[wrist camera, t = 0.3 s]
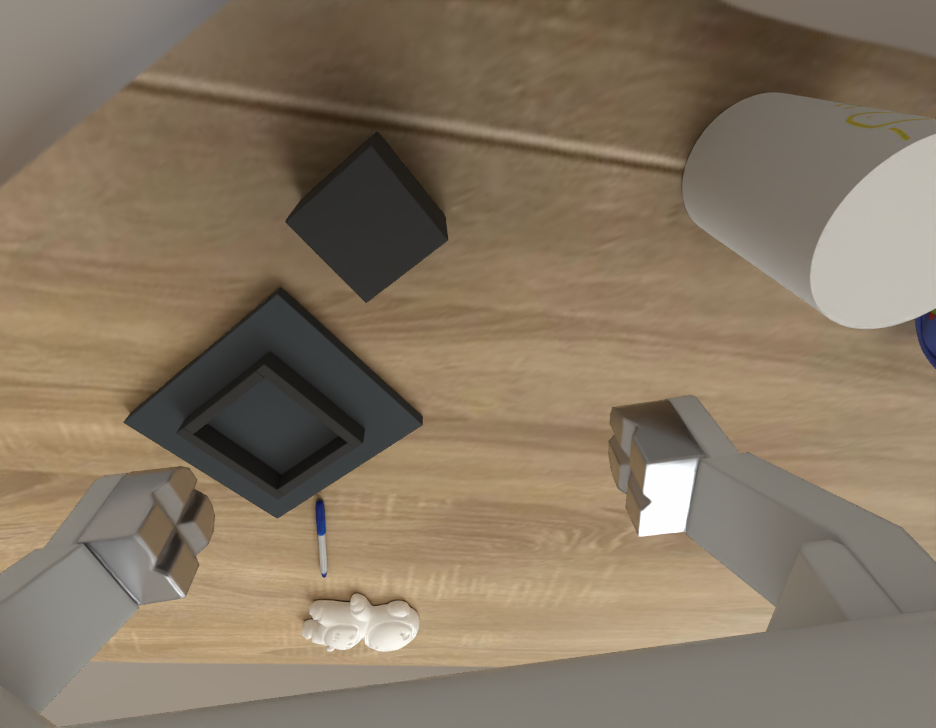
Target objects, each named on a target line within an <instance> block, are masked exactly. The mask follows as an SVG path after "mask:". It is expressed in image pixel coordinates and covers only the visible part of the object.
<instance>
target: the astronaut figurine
mask: <svg viewBox="0 0 936 728" xmlns="http://www.w3.org/2000/svg"><path fill="white" fill-rule="evenodd" d="M309 614H310V615H312V618H313V619H311V620H307V621H305V622H304V623H303V626H302V629H301V633H302V635H303V636H304V637H305V638H306V639H309V638H311V637H312V638H311V641H312V643H316V644H323V645H327V651H329V652H331V651H333V650H334V649H335V648H336V649H340V650H346V649H349V648H351V647H353V646H354V645H355V644H357V643H358V642H359V641H360V640H361V639H363V640H364V642H365V644H366V645H367V646H368V647H370V648H373V649H375V650H377V651H393V650H397V649H400V648H402V647H404V646H405V645H406V644H408V643H409V642H410V641H412V640H413V638H414V637H415V636H416V634H417V632H418V629H419V616H418V614H417V612H416V611H415V610H414V609H412V608H411V607H409V605H408V603H406V602H404V601H392V602H390V603H389V604H384V605H379V606H372V605H371V604H370V603H369V601H368V600H367V598H366V597H364V596H363V595H361V594H358V593H356V594H353V595H352V597H351V600H350V602H340V601H334V600H317V601H314V602H313V603H312V604H311V606H310V607H309Z"/></svg>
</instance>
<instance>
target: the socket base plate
mask: <svg viewBox="0 0 936 728" xmlns="http://www.w3.org/2000/svg"><path fill="white" fill-rule="evenodd" d="M124 423H125V424H127V425H128V426H130V427H131V428H133V429H135V430H136V431H138V432H139V433H141V434H143V435H144V436H146V437H147V438H149V439H151V440H152V441H154V442H155V443H157V444H159V445H160V446H162V447H163V448H165V449H167V450H168V451H170V452H171V453H173V454H175V455H176V456H178V457H179V458H181V459H183V460H184V461H186V462H187V463H189V464H191V465H192V466H194V467H195V468H197V469H199V470H200V471H202V472H203V473H205V474H207V475H208V476H210V477H211V478H213V479H215V480H216V481H218V482H219V483H221V484H223V485H224V486H226V487H228V488H229V489H231V490H232V491H234V492H236V493H237V494H239V495H240V496H242V497H244V498H245V499H247V500H248V501H250V502H252V503H253V504H255V505H256V506H258V507H260V508H261V509H263V510H264V511H266V512H268V513H269V514H271V515H272V516H274V517H276V518H279V517H281V516H282V515H284V514H285V513H287V512H288V511H290V510H292V509H293V508H295V507H296V506H298V505H299V504H301V503H302V502H304V501H306V500H307V499H309V498H310V497H312V496H313V495H315V494H316V493H318V492H319V491H321V490H323V489H324V488H326V487H327V486H329V485H330V484H332V483H333V482H335V481H337V480H338V479H340V478H341V477H343V476H344V475H346V474H347V473H349V472H350V471H352V470H354V469H355V468H357V467H358V466H360V465H361V464H363V463H364V462H366V461H368V460H369V459H371V458H372V457H374V456H375V455H377V454H378V453H380V452H382V451H383V450H385V449H386V448H388V447H389V446H391V445H392V444H394V443H395V442H397V441H399V440H400V439H402V438H403V437H405V436H406V435H408V434H409V433H411V432H413V431H414V430H416V429H417V428H419V427H420V426H422V425H423V417H422V416H421V415H420V414H419V413H418V412H417V411H416V410H415V409H414V408H412V407H411V406H410V405H409V404H408V403H407V402H406V401H405V400H404V399H403V398H402V397H400V396H399V395H398V394H397V393H396V392H395V391H394V390H393V389H392V388H391V387H389V386H388V385H387V384H386V383H385V382H384V381H383V380H382V379H381V378H380V377H379V376H377V375H376V374H375V373H374V372H373V371H372V370H371V369H370V368H369V367H368V366H367V365H365V364H364V363H363V362H362V361H361V360H360V359H359V358H358V357H357V356H356V355H354V354H353V353H352V352H351V351H350V350H349V349H348V348H347V347H346V346H345V345H344V344H342V343H341V342H340V341H339V340H338V339H337V338H336V337H335V336H334V335H333V334H332V333H330V332H329V331H328V330H327V329H326V328H325V327H324V326H323V325H322V324H321V323H320V322H318V321H317V320H316V319H315V318H314V317H313V316H312V315H311V314H310V313H309V312H307V311H306V310H305V309H304V308H303V307H302V306H301V305H300V304H299V303H298V302H297V301H295V300H294V299H293V298H292V297H291V296H290V295H289V294H288V293H287V292H286V291H285V290H283V289H282V288H280V289H279V290H277V291H276V292H275V293H274V294H273V295H271V296H270V297H269V298H268V299H267V300H265V301H264V302H263V303H262V304H261V305H259V306H258V307H257V308H256V309H255V310H253V311H252V312H251V313H250V314H249V315H247V316H246V317H245V318H244V319H243V320H242V321H240V322H239V323H238V324H237V325H236V326H234V327H233V328H232V329H231V330H230V331H228V332H227V333H226V334H225V335H224V336H222V337H221V338H220V339H219V340H218V341H216V342H215V343H214V344H213V345H212V346H210V347H209V348H208V349H207V350H206V351H204V352H203V353H202V354H201V355H200V356H198V357H197V358H196V359H195V360H194V361H193V362H191V363H190V364H189V365H188V366H187V367H185V368H184V369H183V370H182V371H181V372H179V373H178V374H177V375H176V376H175V377H173V378H172V379H171V380H170V381H169V382H167V383H166V384H165V385H164V386H163V387H161V388H160V389H159V390H158V391H157V392H155V393H154V394H153V395H152V396H151V397H149V398H148V399H147V400H146V401H145V402H144V403H142V404H141V405H140V406H139V407H138V408H136V409H135V410H134V411H133V412H132V413H130V414H129V416H128V417H127V418H126V420H125V421H124Z"/></svg>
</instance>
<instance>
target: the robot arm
mask: <svg viewBox="0 0 936 728" xmlns="http://www.w3.org/2000/svg"><path fill="white" fill-rule="evenodd" d="M610 425H611V427H612V430H613V432H614V435H613V437H612V438H611V439H610V440H609V452H608V454H609V462H610V468H611V472H612V475H613V478H614V481H615V483H616V486H617V488H618V489H619V490H621V491H622V492H624V493H625V494H627V496H626V509H627V511H628V514H629V516H630V518H631V521H632V523H633V525H634V527H635V530H636V532H637V534H638V536H647V535H657V534H666V533H675V532H684V531H686V532H685V534H686V535H688V536H689V537H690V538H691V539H692V540H694V541H695V542H696V543H697V544H699V545H700V546H701V547H702V548H704V549H705V550H706V551H707V552H709V553H710V554H711V555H712V556H713V557H715V558H716V559H717V560H718V561H720V562H721V563H722V564H723V565H725V566H726V567H727V568H728V569H730V570H731V571H732V572H733V573H734V574H736V575H737V576H738V577H739V578H741V579H742V580H743V581H744V582H746V583H747V584H748V585H749V586H750V587H752V588H753V589H754V590H755V591H757V592H758V593H759V594H760V595H762V596H763V597H764V598H765V599H767V600H768V601H769V602H770V603H771V604H773V605H774V606H775V607H776V608H775V610H774V613H773V615H772V618H771V620H770V623H769V625H768V628H767V630H766V632H761V633H753V634H746V635H738V636H731V637H724V638H716V639H709V640H701V641H694V642H686V643H679V644H672V645H664V646H657V647H649V648H642V649H634V650H627V651H619V652H612V653H605V654H597V655H590V656H582V657H575V658H567V659H560V660H552V661H545V662H538V663H530V664H523V665H515V666H508V667H500V668H493V669H485V670H478V671H471V672H463V673H456V674H448V675H441V676H433V677H426V678H418V679H411V680H404V681H396V682H389V683H382V684H374V685H367V686H359V687H352V688H345V689H338V690H330V691H323V692H315V693H308V694H300V695H293V696H286V697H278V698H271V699H263V700H257V701H249V702H242V703H234V704H227V705H219V706H212V707H204V708H197V709H189V710H182V711H175V712H167V713H160V714H152V715H144V716H137V717H130V718H122V719H115V720H108V721H100V722H93V723H85V724H78V725H71V726H62V727H57V726H56V725H54V724H53V723H51V722H50V721H49V720H47V719H46V718H45V717H43V716H42V715H40V713H41V712H42V711H43V709H44V708H45V707H46V706H47V705H48V704H49V703H50V702H51V701H52V700H53V699H54V698H55V697H56V696H57V695H58V693H60V691H61V690H62V689H63V688H64V687H65V686H66V685H67V684H68V683H69V682H70V681H71V680H72V679H73V678H74V677H75V675H76V674H77V673H78V672H79V671H80V670H81V669H82V668H83V667H84V666H85V665H86V664H87V663H88V662H89V661H90V660H91V659H92V657H93V656H94V655H95V654H96V653H97V652H98V651H99V650H100V649H101V648H102V647H103V646H104V645H105V644H106V643H107V642H108V640H109V639H110V638H111V637H112V636H113V635H114V634H115V633H116V632H117V631H118V630H119V629H120V628H121V627H122V626H123V624H124V623H125V622H126V621H127V620H128V619H129V618H130V617H131V616H132V615H133V614H134V613H135V612H136V611H137V610H138V609H139V607H138V606H139V605H145V604H151V603H157V602H163V601H169V600H175V599H181V598H185V597H186V595H187V592H188V590H189V588H190V585H191V583H192V581H193V579H194V576H195V574H196V572H197V569H198V567H199V563H198V560H197V558H196V555H197V554H198V553H199V552H201V551H202V550H203V549H204V548H205V547H206V546H207V545H208V544H209V541H210V539H211V537H212V534H213V532H214V521H215V514H214V510H213V506H212V504H211V502H210V500H209V498H208V497H207V496H206V495H204V494H203V493H201V492H199V491H197V490H195V489H194V488H195V486H196V483H197V479H196V477H195V476H194V474H193V473H192V471H191V470H190V468H187V467H182V466H179V467H170V468H161V469H152V470H143V471H135V472H130V473H122V474H113V475H105V476H103V477H101V478H99V479H97V480H95V482H94V483H93V484H92V486H91V487H90V488H89V489H88V491H87V492H86V493H85V495H84V496H83V497H82V499H81V500H80V501H79V503H78V504H77V505H76V507H75V508H74V509H73V511H72V512H71V513H70V514H69V516H68V517H67V518H66V520H65V521H64V522H63V524H62V525H61V526H60V528H59V529H58V530H57V532H56V533H55V534H54V536H53V537H52V538H51V539H50V541H49V542H48V543H47V545H46V546H45V547H44V548H43V549H36V550H34V551H32V552H31V553H29V554H28V555H26V556H25V557H24V558H22V559H21V560H19V561H18V562H16V563H15V564H13V565H12V566H11V567H9V568H8V569H6V570H5V571H3V572H2V573H0V728H936V562H935V561H934V560H933V559H932V558H931V557H930V555H929V554H928V553H927V552H926V551H925V550H924V549H923V548H922V547H921V546H920V545H919V544H918V543H917V542H916V541H915V540H914V539H913V538H912V537H911V536H910V535H909V534H908V533H907V532H906V531H905V530H904V529H903V528H902V527H900V526H898V525H896V524H894V523H892V522H890V521H888V520H886V519H884V518H882V517H879V516H877V515H875V514H873V513H871V512H869V511H867V510H865V509H863V508H861V507H859V506H857V505H855V504H853V503H851V502H849V501H847V500H845V499H843V498H841V497H839V496H837V495H834V494H832V493H830V492H828V491H826V490H824V489H822V488H820V487H818V486H816V485H814V484H812V483H810V482H808V481H806V480H804V479H802V478H800V477H798V476H796V475H794V474H792V473H790V472H787V471H785V470H783V469H781V468H779V467H777V466H775V465H773V464H771V463H769V462H767V461H765V460H763V459H761V458H759V457H757V456H755V455H753V454H751V453H749V452H747V453H739V451H738V450H737V449H736V448H735V446H734V445H733V444H732V442H731V441H730V440H729V439H728V437H727V436H726V435H725V433H724V432H723V431H722V429H721V428H720V427H719V426H718V424H717V423H716V422H715V420H714V419H713V418H712V417H711V415H710V414H709V413H708V411H707V410H706V409H705V407H704V406H703V405H702V404H701V402H700V401H699V400H698V398H697V397H695V396H693V395H687V396H681V397H675V398H668V399H665V400H658V401H651V402H644V403H637V404H630V405H624V406H617V407H612V410H611V413H610Z"/></svg>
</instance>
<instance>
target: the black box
mask: <svg viewBox="0 0 936 728" xmlns="http://www.w3.org/2000/svg"><path fill="white" fill-rule="evenodd" d="M285 222H286V223H287V224H288V225H289V226H290V227H291V228H292V229H293V230H294V231H295V232H296V233H297V234H298V235H299V236H300V237H301V238H302V239H303V240H304V241H305V242H306V243H307V244H308V245H309V246H310V247H311V248H312V249H313V250H314V251H315V252H316V253H317V254H318V255H319V256H320V257H321V258H322V259H323V260H324V261H325V262H326V263H327V264H328V265H329V266H330V267H331V268H332V269H333V270H334V271H335V272H336V273H337V274H338V275H339V276H340V277H341V278H342V279H343V280H344V281H345V282H346V283H347V284H348V285H349V286H350V287H351V288H352V289H353V290H354V291H355V292H356V293H357V294H358V295H359V296H360V297H361V298H362V299H363V300H364V301H365V302H366V303H367V302H368V301H370V300H371V299H372V298H374V297H375V296H376V295H378V294H379V293H380V292H381V291H383V290H384V289H385V288H387V287H388V286H389V285H391V284H392V283H393V282H394V281H396V280H397V279H398V278H400V277H401V276H402V275H404V274H405V273H406V272H407V271H409V270H410V269H411V268H413V267H414V266H415V265H417V264H418V263H419V262H420V261H422V260H423V259H424V258H426V257H427V256H428V255H430V254H431V253H432V252H433V251H435V250H436V249H437V248H439V247H440V246H441V245H443V244H444V243H445V242H446V241H448V234H447V225H446V217H445V215H444V214H443V213H442V212H441V210H440V209H439V208H438V207H437V205H436V204H435V203H434V202H433V200H432V199H431V198H430V197H429V195H428V194H427V193H426V191H425V190H424V189H423V188H422V186H421V185H420V184H419V183H418V181H417V180H416V179H415V178H414V176H413V175H412V174H411V173H410V171H409V170H408V169H407V168H406V166H405V165H404V164H403V162H402V161H401V160H400V159H399V157H398V156H397V155H396V154H395V152H394V151H393V150H392V149H391V147H390V146H389V145H388V144H387V142H386V141H385V140H384V139H383V137H382V136H381V135H380V133H379V132H376V133H375V134H374V135H373V136H371V137H370V138H369V139H368V140H367V141H366V142H365V143H364V144H363V145H361V146H360V147H359V148H358V149H357V150H356V151H355V152H354V153H352V154H351V155H350V156H349V157H348V158H347V159H346V160H345V161H344V162H342V163H341V164H340V165H339V166H338V167H337V168H336V169H335V170H333V171H332V172H331V173H330V174H329V175H328V176H327V177H326V178H325V179H323V180H322V181H321V182H320V183H319V184H318V185H317V186H316V187H315V188H313V189H312V190H311V191H310V192H309V193H308V194H307V195H306V196H304V197H303V198H302V199H301V200H300V202H299V203H298V204H297V206H296V207H295V208H294V210H293V211H292V212H291V214H290V215H289V216H288V218H287V219H286V221H285Z"/></svg>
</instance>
